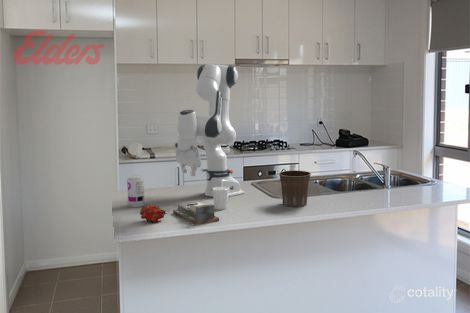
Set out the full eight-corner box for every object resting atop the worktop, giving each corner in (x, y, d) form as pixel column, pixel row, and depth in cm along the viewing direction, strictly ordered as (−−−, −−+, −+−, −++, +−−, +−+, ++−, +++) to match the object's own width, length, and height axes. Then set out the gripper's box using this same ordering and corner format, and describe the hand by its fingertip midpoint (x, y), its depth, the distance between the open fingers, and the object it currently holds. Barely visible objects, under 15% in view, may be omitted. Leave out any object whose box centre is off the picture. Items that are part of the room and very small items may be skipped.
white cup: (220, 205, 240) (220, 186, 238) (232, 207, 235) (231, 188, 233) (209, 208, 234) (209, 188, 232) (221, 210, 229) (221, 190, 227)
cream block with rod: (199, 212, 219) (199, 201, 219) (205, 215, 214) (205, 203, 213) (184, 214, 216) (184, 203, 215) (190, 217, 210) (190, 205, 210)
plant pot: (299, 210, 228) (299, 177, 226) (272, 205, 239) (272, 173, 236) (316, 203, 240) (317, 172, 238) (290, 199, 251) (290, 169, 249)
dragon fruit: (138, 224, 213) (164, 227, 213) (136, 218, 205) (164, 221, 206) (141, 207, 217) (167, 210, 217) (140, 200, 209) (167, 203, 210)
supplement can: (128, 208, 236) (127, 178, 234) (128, 204, 244) (126, 176, 242) (145, 206, 238) (144, 177, 236) (144, 203, 246) (142, 175, 244)
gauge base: (195, 209, 231) (195, 194, 230) (219, 221, 211) (218, 204, 210) (173, 213, 225) (172, 197, 224) (194, 225, 205) (194, 208, 204)
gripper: (204, 146, 211) (204, 177, 213) (185, 142, 229) (185, 170, 231) (191, 147, 208) (192, 178, 210) (173, 143, 226) (174, 172, 228)
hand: (188, 174), depth 221 cm, fingers open, 8 cm apart
